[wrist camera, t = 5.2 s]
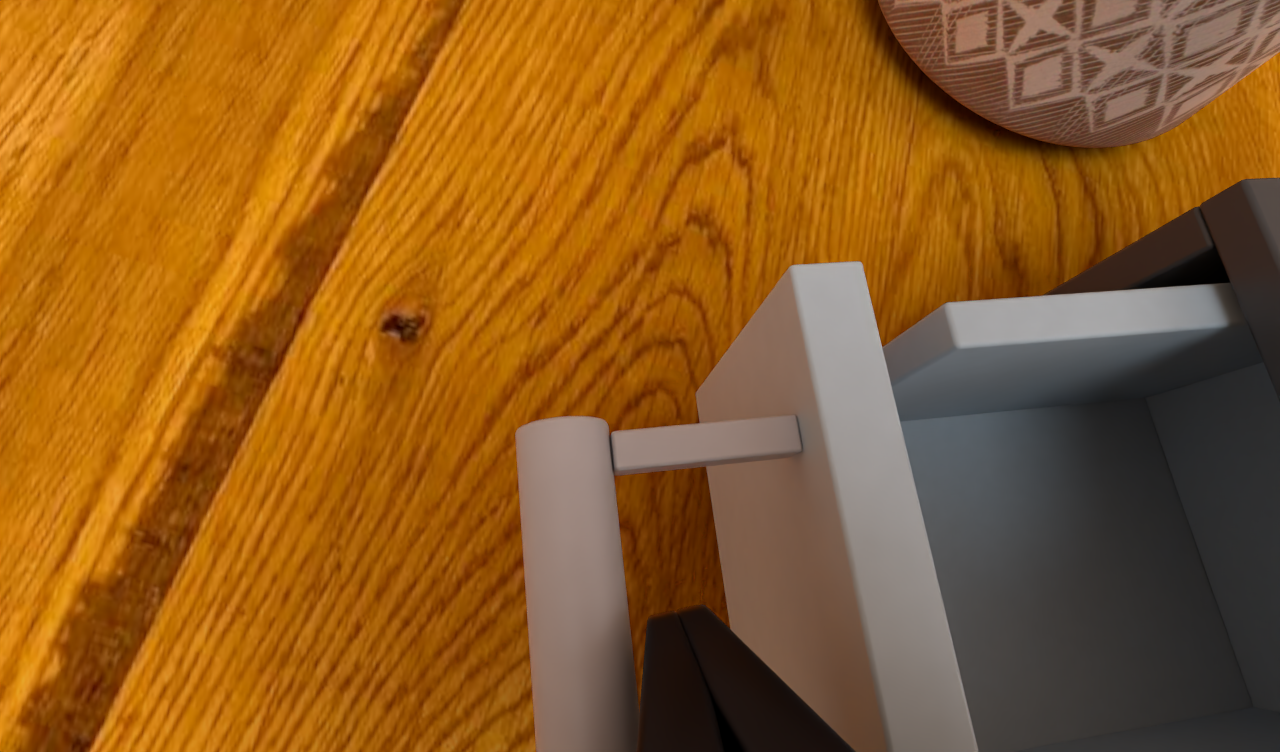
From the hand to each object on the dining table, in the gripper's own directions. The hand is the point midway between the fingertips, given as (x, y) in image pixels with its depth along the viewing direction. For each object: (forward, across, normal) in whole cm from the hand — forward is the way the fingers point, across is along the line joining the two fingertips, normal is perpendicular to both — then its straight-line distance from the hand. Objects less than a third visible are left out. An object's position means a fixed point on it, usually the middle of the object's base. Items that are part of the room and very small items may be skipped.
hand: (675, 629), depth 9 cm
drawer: (+4, -6, +5) cm, 9 cm away
